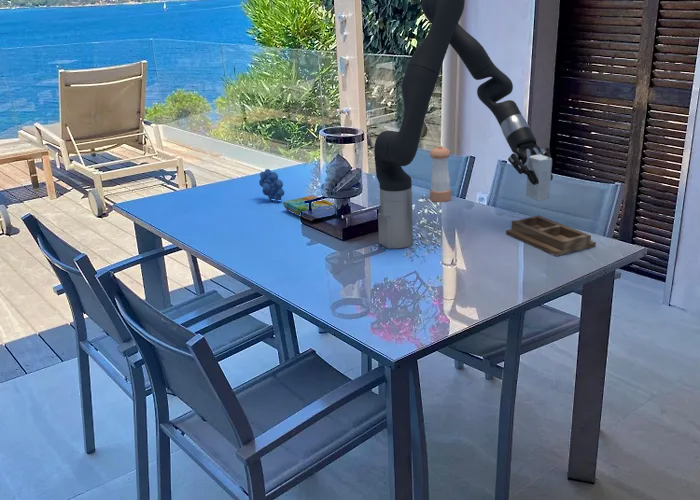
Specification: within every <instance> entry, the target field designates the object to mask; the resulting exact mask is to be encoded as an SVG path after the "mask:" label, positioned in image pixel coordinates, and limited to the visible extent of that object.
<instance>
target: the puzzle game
mask: <svg viewBox="0 0 700 500" xmlns="http://www.w3.org/2000/svg"><path fill="white" fill-rule="evenodd" d="M316 198H320V197H318V196H316V195H313V194H312V195H307V196H303V197H298V198H295V199H290V200H285V201H283V202H282V203H283V207H284V208H285V209H286V210H287V211H288V210H290V211H292V212H294V213H296V214H298V215H300V213H301V212H302V211H308V209H309V206H308V204H307V203H304V201H307V200H312V199H316ZM334 204H335V203H333V202H331V201H328V200H327V199H324V200H322V201H316V202H313V203H312V209H315V208H318V207H323V206H329V205H332V206H334ZM330 208H333V207H330ZM326 209H329V208H326Z"/></svg>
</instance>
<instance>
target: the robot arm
mask: <svg viewBox="0 0 700 500" xmlns="http://www.w3.org/2000/svg"><path fill="white" fill-rule="evenodd" d="M465 1H466V0H421V9H422V13H423V15H424V17H425V18H426V19H427V20H428V22H430V24H431V26H430V27H429V28H430V29H429V31H428V32H427V34H426V36H425V38H424V39H422V41H421V43H419V45H418V47H416V49H415V51H414V52H413V54H411V56H410V58H409V60H408V62H407V65H406V69H405V71H404V74H403V77H402V79H401V94H402V99H403V104H404V105H403V107H404V108H403V109H404V113H403V118H402V121H401V125H400V128H399V131H395V130H389V129H388V130H384V131H383V130H382V131H381V132H380V133H378V135H377V136H376V139H375V142H374V147H373V148H374V149H373V152H374V164H375V165H374V166H375V176H376V179H377V180H378V184H379V201H380V202H379V203H380V204H379V205H380V206H379V207H380V212H378V214H377V219H378V220H377V221H378V222H377V223H378V224H377V225H378V242H379V245H381V246H383V247H384V248H386V249H388V250H390V249H404V248H409V247H411V246H412V245H413V244H414V232H413V231H414V230H413V229H414V227H413V224H414V223H413V220H414V219H413V191H412V190H413V186H412V182H413V181H412V177H411V176H410V175H409V174H408V173H407V172H406V171H405V170H404V169H403V167H406V166H408V165H410V164H411V163H412V162H413V161H414V158H415V157H416V155H417V152H418V148H419V143H420V140H421V135H422V130H423V126H424V123H425V122H424V121H425V118H426V115H427V112H428V109H429V105H430V102H431V99H432V96H433V94H434V90H435V87H436V85H437V82H438V79H439V75H440V72H441V68H442V66H443V63H444V59H445V57H446V55H447V51H448V48H449V45H450V47H452V49H453V50H454V51H455V52H456V53H457V55H458V57H459V58H460V59H461V61H462V62H463V64H464V65H465V67H466V69H467V70H468V72H469V73H470V75H471V77H472V78H473V79H474V80H476V81H481V80H484V79H487V78H489V79H488V80H486V81H484V82H482V83H480V85H479V86H477V89H476V94H477V98H478V99H479V101H481V103H482V104H483V105H485V106H486V108H488V109H489V110H490V112H491V113H492V114H493V116H494V117H495V120H496V121H497V123H498V125H499V126H500V130H501V132H502V135H503V136H504V138H505V140H506V142H507V144H508V147H509V148H510V151H511V152H512V153H511V154H510V156H509V157H508V158H507V161H509V163H510V164H511V166H512V167H513V168H514V169H515V171H517V173H518V174H519V175H522V174H524V175H525V176H526V178H527V177H528V179H529V180H530V182H531V183H532V184H533V185H536V184H537V183H538V178H537V176H536V175H535V173H534V171H532V166H531V163H532V161H531V159H530V156H533V155H539V154H540V155H543V156H547V157H549V158H552V155H551V151H550V148H549V147H545V148H541V147H540V146H539V145H538V144H537V138H536V137H535V135H534V132H533V131H532V128H530V125H529V124H528V122H527V120H526V118H525V117H524V116H523V114H522V112H521V110H520V109H519V106H518V105H517V103H516V102H515V101H514V100H512V99H511V100H504V101H501V100H502V99H504V98H506V97H507V96H509V95H511V94H512V92H513V89H514V85H513V82H512V80H511V79H510V77H508V75H506V74H505V72H503V70H502V71H501V69H499V68H498V66H496V65H495V63H494V62H493V61H492V59H491V57H490V56H489V54H488V53H487V50H485V48H484V46H483V45H482V44H481V43H480V42H479V41H478V40H477V39H476V38H475V37H474V36H473V35H471V34H470V33H469V32H467V31H466V30H465V29H464V28H463V26H462V25H460V23H459V22H460V20H461V17H462V15H463V12H464V10H465ZM499 101H501V102H499ZM553 164H554V163H553V161H552V165H553ZM553 178H554V176H553V174H552V172H551V181H552V180H554V179H553Z"/></svg>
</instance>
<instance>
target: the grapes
mask: <svg viewBox="0 0 700 500" xmlns="http://www.w3.org/2000/svg"><path fill="white" fill-rule="evenodd" d="M259 177H260V179H259V181H258V184H259V186H260V187H262V191H261V192H262V194H263V195H264V196H266V197H267V198H268V199H275V201H276V200H281V201H282V197H283V196H284V195H285V190H284V189H283V187H284V182H283V181H282V180H281V179H279V174H278V173H277V172H275V171H271V170H270V168H266V169H265V170H264V171H261V172H260V174H259Z"/></svg>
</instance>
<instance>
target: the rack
mask: <svg viewBox="0 0 700 500" xmlns="http://www.w3.org/2000/svg"><path fill="white" fill-rule="evenodd" d="M505 231H506V232H505V235H507V236H510V237H512V238H514V239H516V240H518V241H521V242H523V243H525V244H527V245H530V246H532V247H534V248H536V249H538V248H539V249H538V250H540V249H541V250H540V251H543V252H545V251H546V252H545V253H547V252H549V253H551V254H550V255H552V254H553V255H552V256H554V255H555V257H559V256H558V255H560V256H564V255H567V254H566V253H568V254H571V253H570V252H572V253H575V252H574V251H576V252H579V251H578V250H580V251H583V250H582V249H584V250H587V249H586V248H588V249H591V248H590V247H592V248H595V247H594V246H597V245H596V244H597V241H593V240H592V239H591V238H592V235H591V234H589V233H586V232H583V231H581V230H578V229H575V228H573V227H570V226H567V225H565V224H562V223H560V222H556V221H555V220H552V219H549V218H547V217H544V216H542V215H534V216H529V217H525V218H521V219H517V220H512V221H511V228H510V229H507V230H505ZM549 253H548V254H549ZM563 254H564V255H563Z"/></svg>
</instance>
